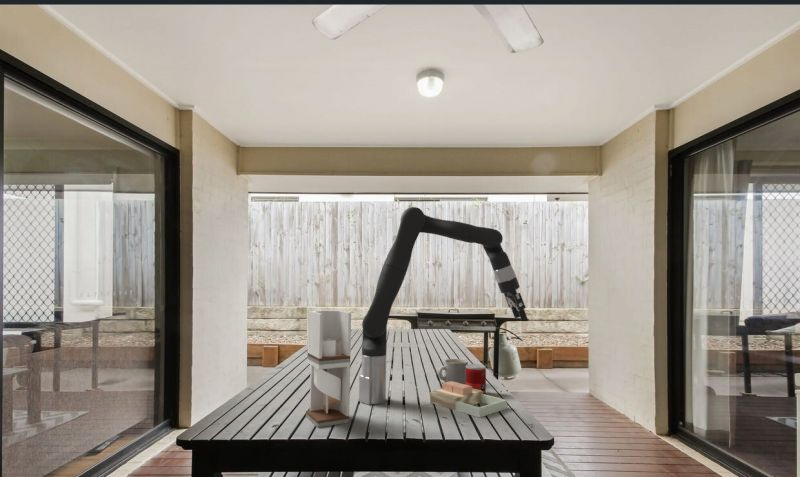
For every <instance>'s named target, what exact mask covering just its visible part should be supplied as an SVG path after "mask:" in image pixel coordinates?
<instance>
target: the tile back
mask: <svg viewBox="0 0 800 477" xmlns="http://www.w3.org/2000/svg"><path fill="white" fill-rule="evenodd" d="M458 384H461V383H457V382H453V381H449V382H445V381H444V382H442V386H441V389H442V390H445V391H449V392H453V386H454V385H458Z"/></svg>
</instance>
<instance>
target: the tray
mask: <svg viewBox="0 0 800 477" xmlns="http://www.w3.org/2000/svg"><path fill="white" fill-rule="evenodd" d="M507 402H508V401H507V399H504V398H501V397H496V396H493V395H488V394H486V393H485V394H481V403H482V404H486V405H483V406H475V405H469V404H465V403H462V402H458V401H455V410H454V411H457V412H460V413H464V414H467V415H470V416H473V417H477V418H483V417H485V416H488V414H489V415H491V414H494V413H495V414H496V413H497V412H501V411H504V410H507V407H508V405H507V404H508V403H507Z"/></svg>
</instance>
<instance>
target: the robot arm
mask: <svg viewBox="0 0 800 477" xmlns="http://www.w3.org/2000/svg"><path fill="white" fill-rule="evenodd" d="M421 233H424V234H425V233H426V234H430V235H436V236H441V237H445V238H449V239H451V240H456V241H460V242H464V243H469V244H478V245H482V247H483V249H484V252H485V254H486V255H487V257H488V259H489V261H490V265H491V268H492V271H493V273H494V277H495V280H496V283H497V285H498V288H499V291H500V293H501V294H503V296H504V298H505V300H506V303H507V307H508V308H509V309H510V310H511V312H512V314H513V317H514V319H518V318H520V320H521V321H523V322H524V321H526V320H528V316H527V313H526V310H525V309H526V304H525V303H524V300H523V298H522V294H521V292H517V290H519V288H520V284H519V280H518V278H517V276H516V272H515V271H514V268H513V266H512V264H511V261H510V259H509V255H508V253H506V251H505V250H504V249H503V247H502V243H503V238H504V237H503V234H502V233H501V232H500V230H497V229H495V228H490V227H483V226H477V225H473V224H470V223H465V222H461V221H457V220H456V221H455V220H448V219H447V220H446V219H442V218H441V219H439V218H436V217H431V216H429V215H426V214H425V213H424V212H423V210H422V209H420V208H419V207H416V206H412V207H408V208H406V209H405V210H404V211H403V212H402V214H401V215H400V222H399V226H398V230H397V234H396V237H395V240H394V242H393V243H392V245H391V248H390V249H389V251H388V254H387V256H386V258H385V261H384V263H383V265H382V267H381V270H380V273H379V277H378V280H377V284H376V289H375V294H374V297H373V299H372V302H371V303H370V306H369V308H368V311H367V312H366V315H365V316H364V317H363V319H362V324H361V326H362V341H361V343H362V344H361V374H360V375H359V376H358V377H359V384H358V402H360V403H363V404H366V405H369V406H370V405H379V404H384V403H386V401H387V395H386V394H387V348H388V345H387V342H388V340H387V334H388V333H387V332H388V331H387V330H388V329H387V328H388V321H389V316H390V315H391V314H390V313H391V310H392V306H393V304H394V301H395V299H396V298H397V296H398V294H399V291H400V289H401V288H402V285H403V282H404V281H405V278H406V274H407V271H408V269H409V266H410V263H411V259H412V254H413V250H414V246H415V243H416V241H417V239H418V237H419V235H420V234H421Z"/></svg>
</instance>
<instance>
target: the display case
mask: <svg viewBox="0 0 800 477" xmlns="http://www.w3.org/2000/svg"><path fill="white" fill-rule="evenodd" d="M307 322H308V323H307V324H308V325H307V358H306V359H307V364H309V365H310V372H309V373H310V374H309V375H310V376H309V377H310V381H309V382H310V384H309V409H308V410H306V411H305V418H306V419H307V420H308V421H310V422H311V423H312V424H313V425H314V426H315V427H316V428H323V427H329V426H335V425H341V424H342V425H343V424H348V423H349V424H350V404H351V403H350V398H351V397H350V395H351V391H350V390H351V347H352V346H351V345H352V344H351V342H352V340H351V336H352V312H349V311H344V310H340V309H335V310H334V309H329V310H308V320H307Z"/></svg>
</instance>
